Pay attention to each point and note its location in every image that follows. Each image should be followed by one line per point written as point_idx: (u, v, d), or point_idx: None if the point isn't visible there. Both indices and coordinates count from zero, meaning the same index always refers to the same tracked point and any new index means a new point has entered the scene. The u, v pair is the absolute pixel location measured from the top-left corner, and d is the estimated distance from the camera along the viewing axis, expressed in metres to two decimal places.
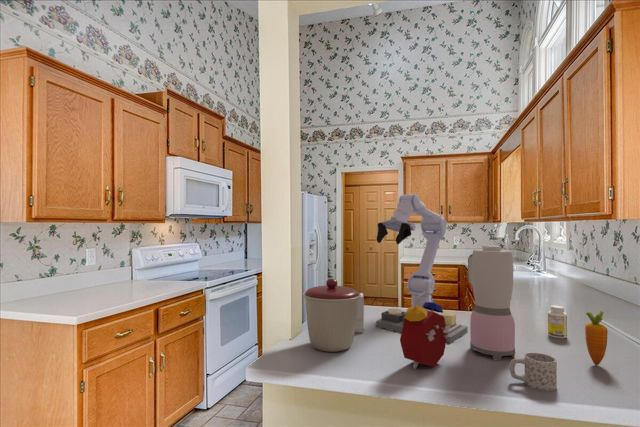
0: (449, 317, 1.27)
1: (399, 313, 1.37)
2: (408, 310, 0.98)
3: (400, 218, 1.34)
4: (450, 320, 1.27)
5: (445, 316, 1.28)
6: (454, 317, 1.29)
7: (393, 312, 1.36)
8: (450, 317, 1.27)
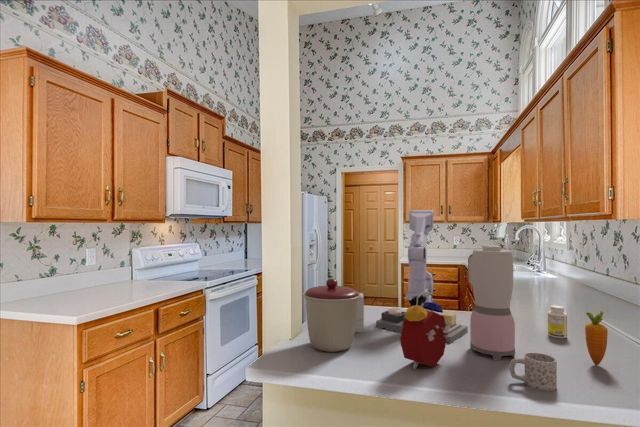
0: (449, 317, 1.27)
1: (399, 313, 1.37)
2: (408, 310, 0.98)
3: None
4: (450, 320, 1.27)
5: (445, 316, 1.28)
6: (454, 317, 1.29)
7: (393, 312, 1.36)
8: (450, 317, 1.27)
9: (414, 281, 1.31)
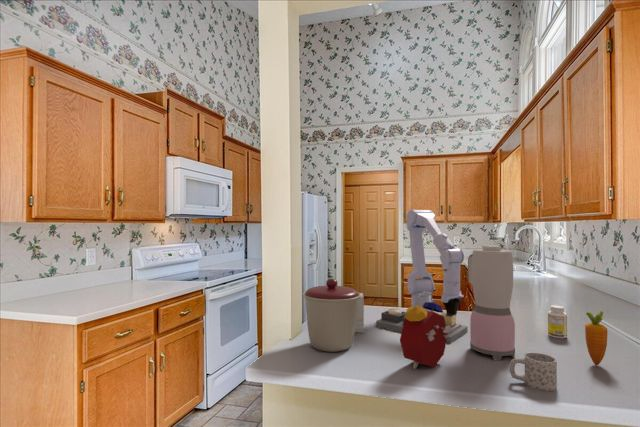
0: (449, 317, 1.27)
1: (399, 313, 1.37)
2: (408, 310, 0.98)
3: None
4: (450, 320, 1.27)
5: (445, 316, 1.28)
6: (454, 317, 1.28)
7: (393, 312, 1.36)
8: (450, 317, 1.27)
9: (449, 283, 1.30)
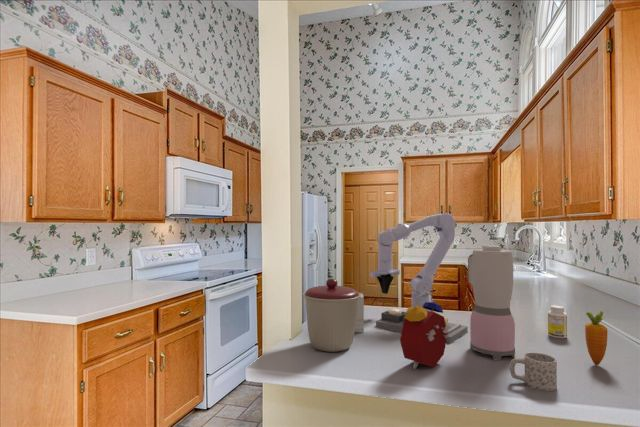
0: None
1: (399, 313, 1.37)
2: (408, 310, 0.98)
3: None
4: None
5: None
6: (445, 322, 1.23)
7: (393, 312, 1.36)
8: None
9: (380, 261, 1.49)
